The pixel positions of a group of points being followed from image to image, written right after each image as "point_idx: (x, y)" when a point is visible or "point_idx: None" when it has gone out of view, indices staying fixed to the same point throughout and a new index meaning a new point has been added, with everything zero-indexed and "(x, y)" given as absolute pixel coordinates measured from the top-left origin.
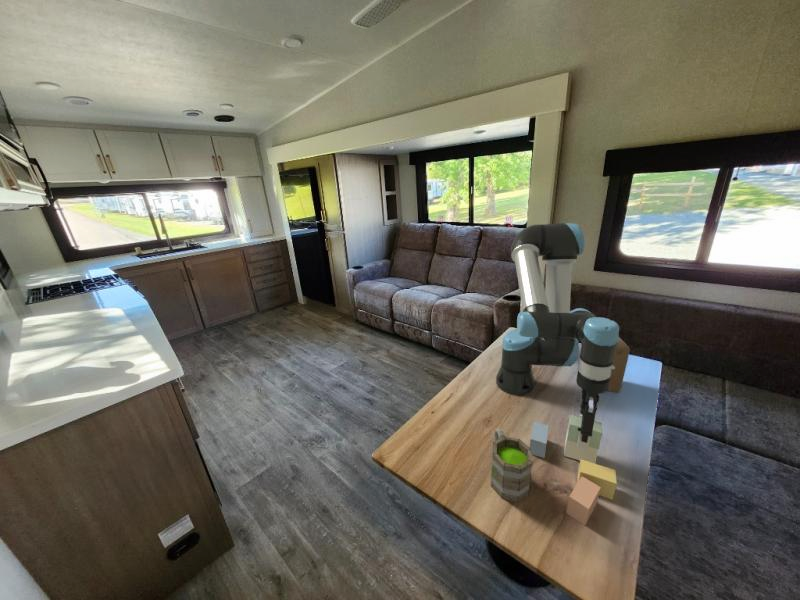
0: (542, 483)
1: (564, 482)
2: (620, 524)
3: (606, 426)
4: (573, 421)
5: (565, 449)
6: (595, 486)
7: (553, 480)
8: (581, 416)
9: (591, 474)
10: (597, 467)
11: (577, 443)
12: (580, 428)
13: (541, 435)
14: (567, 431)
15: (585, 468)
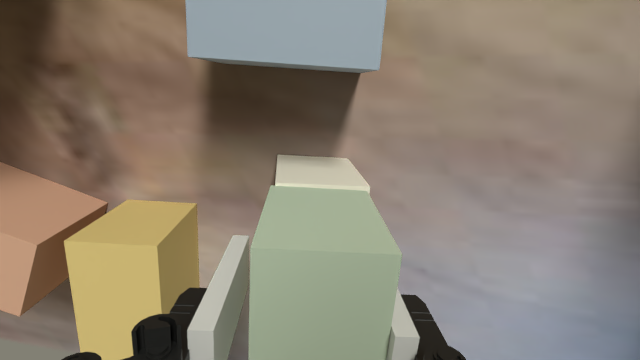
0: (65, 56)
1: (125, 151)
2: (49, 315)
3: (526, 327)
4: (305, 278)
5: (277, 165)
6: (8, 296)
7: (110, 106)
8: (392, 346)
9: (75, 286)
10: (140, 314)
11: (238, 245)
12: (153, 354)
13: (255, 19)
14: (360, 188)
15: (102, 263)
